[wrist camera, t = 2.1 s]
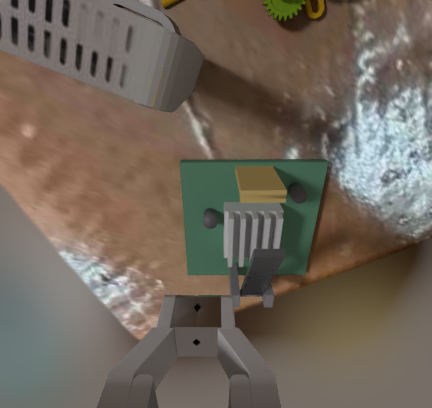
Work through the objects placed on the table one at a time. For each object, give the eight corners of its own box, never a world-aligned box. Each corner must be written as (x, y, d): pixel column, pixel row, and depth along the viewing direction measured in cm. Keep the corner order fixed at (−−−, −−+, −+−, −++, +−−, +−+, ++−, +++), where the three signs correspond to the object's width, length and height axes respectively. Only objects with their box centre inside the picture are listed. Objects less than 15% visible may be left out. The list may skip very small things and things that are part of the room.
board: (325, 159, 36) (357, 185, 27) (302, 269, 45) (322, 314, 37) (181, 159, 36) (170, 186, 27) (188, 270, 45) (182, 314, 37)
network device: (212, 35, 29) (208, -18, 11) (188, 111, 33) (156, 161, 15) (-37, -78, 25) (-678, -454, 7) (-32, 24, 28) (-439, -50, 11)
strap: (285, 247, 25) (287, 257, 25) (260, 290, 39) (261, 297, 39) (252, 247, 25) (253, 257, 25) (239, 290, 39) (240, 297, 38)
